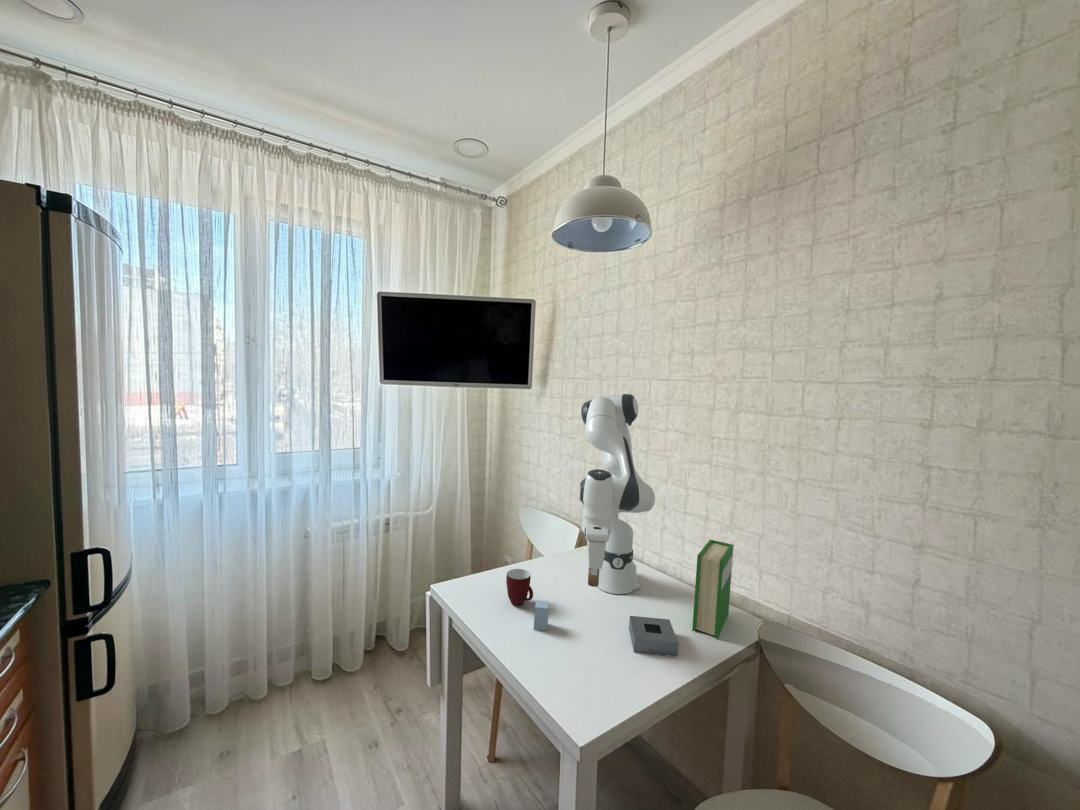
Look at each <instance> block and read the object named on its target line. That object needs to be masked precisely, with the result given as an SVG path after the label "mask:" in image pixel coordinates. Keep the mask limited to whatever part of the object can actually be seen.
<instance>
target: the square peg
mask: <svg viewBox="0 0 1080 810" xmlns="http://www.w3.org/2000/svg"><path fill="white" fill-rule="evenodd" d="M549 606H550V602H549V601H543V600H535V604H534V612H533V613H534V615H533V631H542V632H548V626H549V610H550V607H549Z"/></svg>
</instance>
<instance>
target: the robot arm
mask: <svg viewBox="0 0 1080 810" xmlns="http://www.w3.org/2000/svg"><path fill="white" fill-rule="evenodd" d="M580 408H581V409H580V412H581V413H580V414H581V419H582V421H583V424H584V425H585V437H586V439H587V441H588V442H589V444H590V445H592V447H594V448H595V449H597V450H599V451H602V454H603V455H602V456H603V467H604V468H605V469H599V468H597V469H596V468H595V469H591V470H589V471H588V472H586V477H585V478H583V479H582V480H581V482H580V484H579V486H580V487H579V490H580V491H579V501H580V502H581V503H582V505H583V510H582V513H581V531H582V532H583V534H584V538H585V540H586V542H587V557H588V568H589V567H590V568H591V574H592V575H597V570H598V569H599V585H598V586H596V588H598V589H599V590H601V591H603V592H606V593H610V594H614V595H626V594H627V595H628V594H630V593H633V592H634V591H636V590H640V589H641V584H640V582H639V581H638V580H637V565H636V564H635V562H634V561H633V560H634V549H633V543H634V542H633V541H634V540H633V539H634V530H633V528H632V526H631V524H629V523H628V522H626V521H625V520H622V519H621V518H619V514H620V513H627V514H628V513H630V514H631V513H632V514H639V513H645V512H649V511H651V510H652V509H653V507H654V506H655V504H656V503H655V502H656V494H655V491H654V490H653V488H652V487H651V486H650V484H647V483H646V482H645V481H644V480H643V479H642V478H641V476H640V475H639V474H638V472H637V470H636V467H635V463H634V458H633V457H634V456H633V447H632V438H631V434H630V430H629V427H630V426H632V423H633V422H634V421H635V420H636V419H637V418H638V415H639V404H638V401H637V400H636V397H635V396H634V394H630V393H622V394H617V395H616V394H615V395H607V396H598V397H596V398H593V399H590V400H587V401H586V402H584V403H583V404H582V406H581V407H580ZM628 426H629V427H628ZM613 475H614V476H615V477H614V476H613Z"/></svg>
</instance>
